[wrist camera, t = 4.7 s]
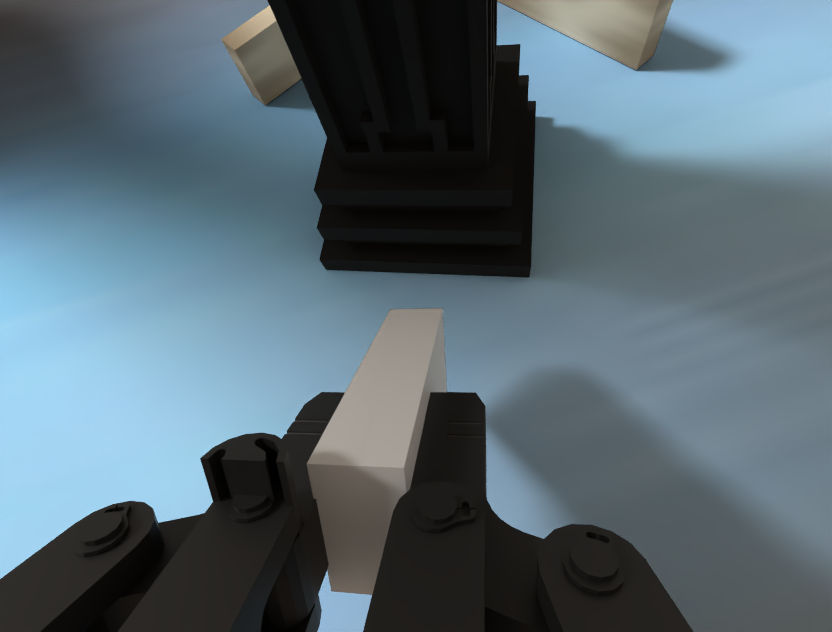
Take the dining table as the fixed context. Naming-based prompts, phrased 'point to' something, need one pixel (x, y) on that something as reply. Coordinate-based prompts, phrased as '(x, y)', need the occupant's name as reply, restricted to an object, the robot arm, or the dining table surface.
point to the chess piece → (417, 135)
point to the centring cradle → (547, 3)
